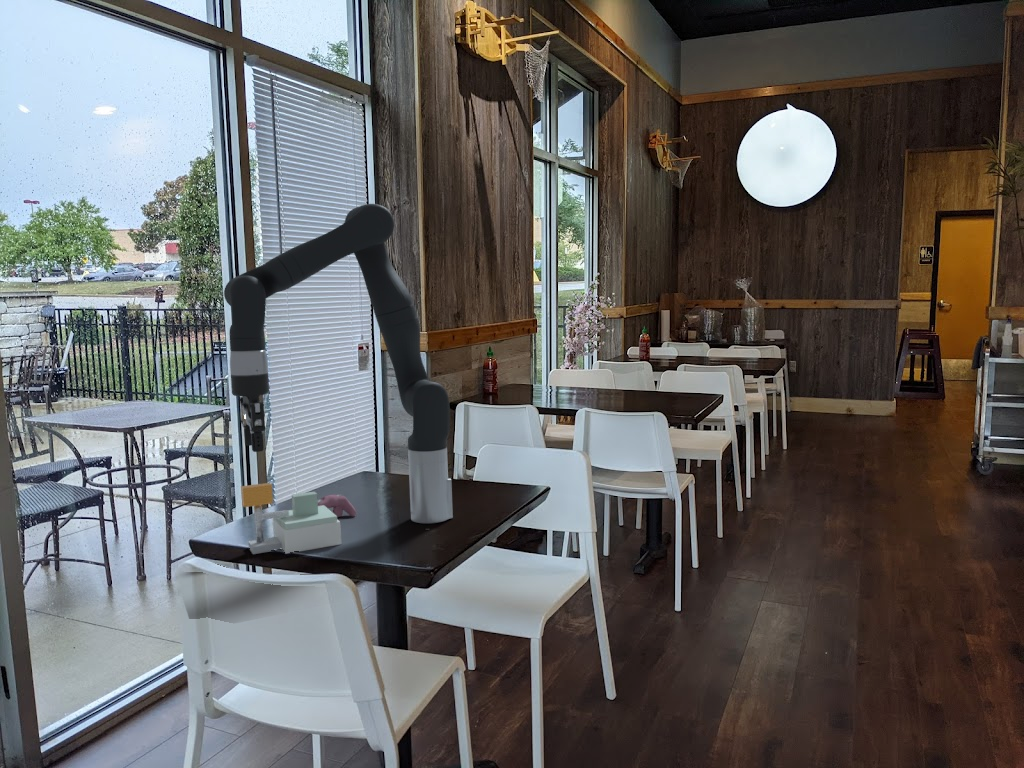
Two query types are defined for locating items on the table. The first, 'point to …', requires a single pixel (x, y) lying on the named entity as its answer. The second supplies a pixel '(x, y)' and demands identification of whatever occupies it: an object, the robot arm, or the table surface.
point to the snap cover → (306, 512)
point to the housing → (299, 538)
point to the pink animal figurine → (337, 504)
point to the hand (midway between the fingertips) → (254, 448)
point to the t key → (260, 505)
